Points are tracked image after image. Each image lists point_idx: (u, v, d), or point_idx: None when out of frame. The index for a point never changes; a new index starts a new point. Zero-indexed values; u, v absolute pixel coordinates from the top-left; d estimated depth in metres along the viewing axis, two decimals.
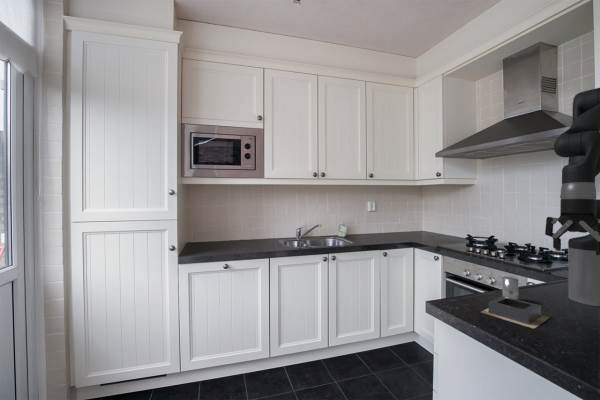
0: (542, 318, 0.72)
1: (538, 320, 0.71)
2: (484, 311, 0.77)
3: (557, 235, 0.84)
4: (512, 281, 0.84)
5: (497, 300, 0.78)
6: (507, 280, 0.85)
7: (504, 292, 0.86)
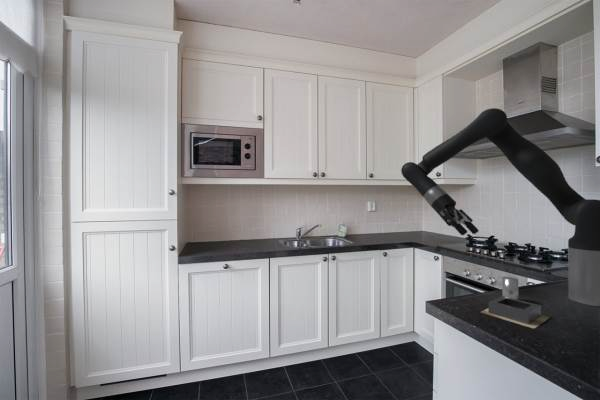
0: (542, 318, 0.72)
1: (538, 320, 0.71)
2: (484, 311, 0.77)
3: None
4: (512, 281, 0.84)
5: (497, 300, 0.78)
6: (507, 280, 0.85)
7: (504, 292, 0.86)
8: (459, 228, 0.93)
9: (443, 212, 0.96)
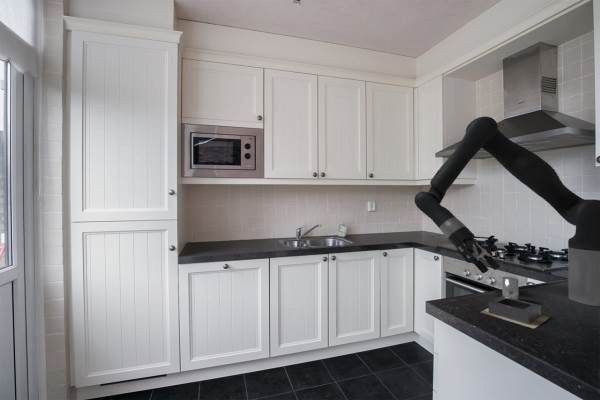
0: (542, 318, 0.72)
1: (538, 320, 0.71)
2: (484, 311, 0.77)
3: None
4: (512, 281, 0.84)
5: (497, 300, 0.78)
6: (507, 280, 0.85)
7: (504, 292, 0.86)
8: (480, 266, 0.88)
9: (462, 248, 0.91)
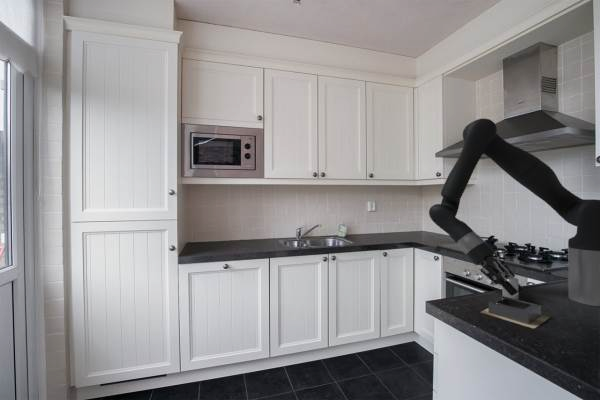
0: (542, 318, 0.72)
1: (538, 320, 0.71)
2: (484, 311, 0.77)
3: None
4: (512, 281, 0.84)
5: (497, 300, 0.78)
6: (507, 280, 0.85)
7: (504, 292, 0.86)
8: (508, 287, 0.83)
9: (487, 270, 0.85)
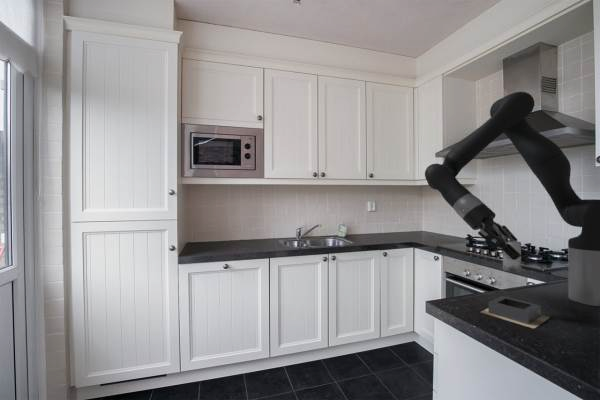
0: (542, 318, 0.72)
1: (538, 320, 0.71)
2: (484, 311, 0.77)
3: None
4: (514, 244, 0.74)
5: (497, 300, 0.78)
6: None
7: (504, 257, 0.76)
8: (509, 251, 0.73)
9: (485, 231, 0.75)
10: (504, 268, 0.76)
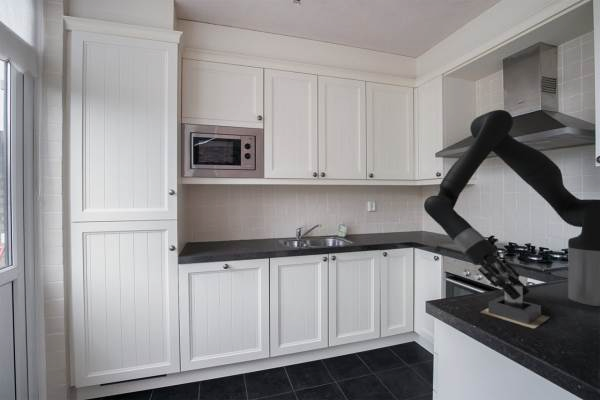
0: (542, 318, 0.72)
1: (538, 320, 0.71)
2: (484, 311, 0.77)
3: None
4: (515, 288, 0.73)
5: (497, 300, 0.78)
6: None
7: (506, 301, 0.75)
8: (509, 290, 0.72)
9: (485, 269, 0.75)
10: None
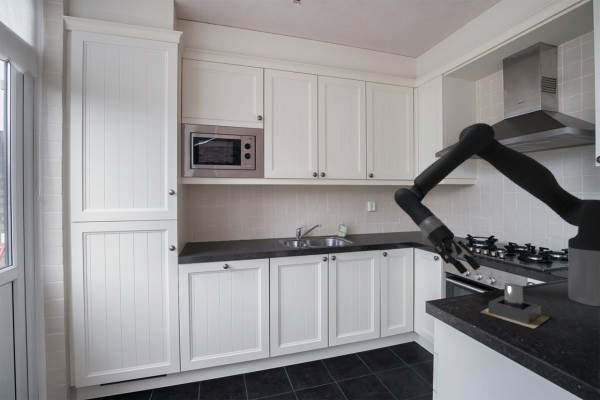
0: (542, 318, 0.72)
1: (538, 320, 0.71)
2: (484, 311, 0.77)
3: None
4: (516, 289, 0.73)
5: (497, 300, 0.78)
6: (510, 287, 0.74)
7: (506, 301, 0.75)
8: (458, 266, 0.84)
9: (440, 247, 0.87)
10: None
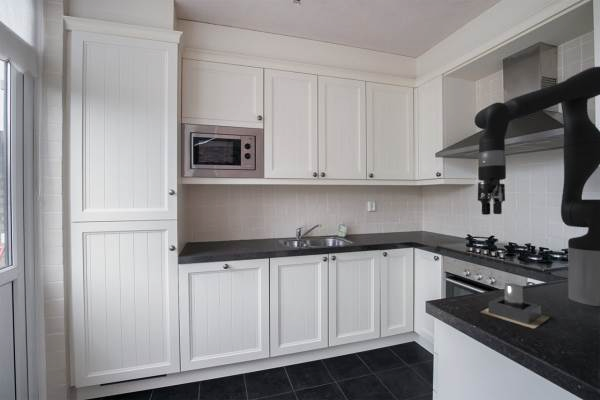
0: (542, 318, 0.72)
1: (538, 320, 0.71)
2: (484, 311, 0.77)
3: None
4: (516, 289, 0.73)
5: (497, 300, 0.78)
6: (510, 287, 0.74)
7: (506, 301, 0.75)
8: (485, 207, 0.87)
9: (484, 185, 0.86)
10: None
